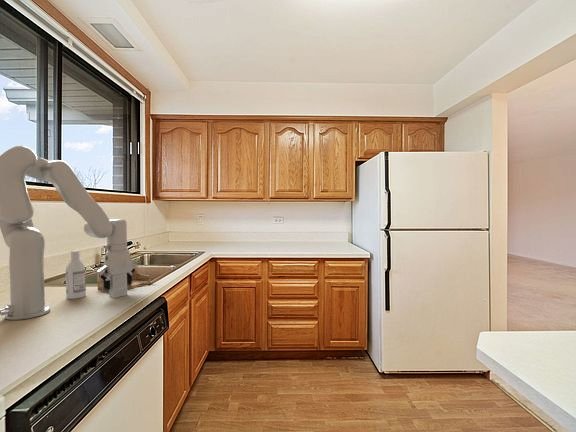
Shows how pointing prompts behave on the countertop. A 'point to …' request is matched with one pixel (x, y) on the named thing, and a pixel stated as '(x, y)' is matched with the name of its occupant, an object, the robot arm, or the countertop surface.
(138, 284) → the rack
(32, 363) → the countertop surface
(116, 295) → the skincare box
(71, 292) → the bath foam
